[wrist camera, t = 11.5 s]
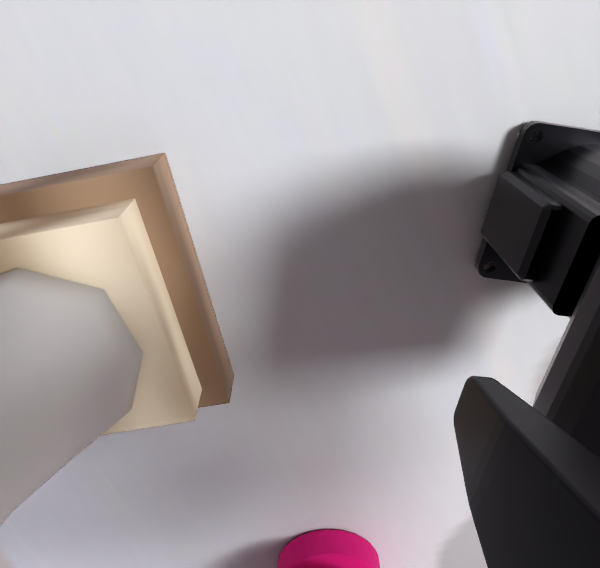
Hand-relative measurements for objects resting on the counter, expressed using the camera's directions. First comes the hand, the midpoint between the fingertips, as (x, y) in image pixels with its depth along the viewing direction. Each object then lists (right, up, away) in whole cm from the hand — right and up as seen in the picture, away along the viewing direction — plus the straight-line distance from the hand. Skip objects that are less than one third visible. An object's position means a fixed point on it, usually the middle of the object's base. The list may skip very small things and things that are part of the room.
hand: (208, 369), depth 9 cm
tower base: (-8, +1, +14) cm, 16 cm away
